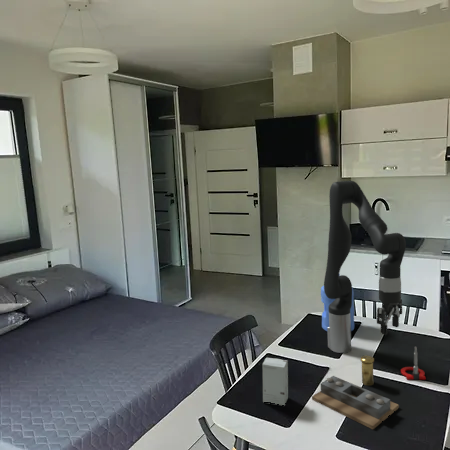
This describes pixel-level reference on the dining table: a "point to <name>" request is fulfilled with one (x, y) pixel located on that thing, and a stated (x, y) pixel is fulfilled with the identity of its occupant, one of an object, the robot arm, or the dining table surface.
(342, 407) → the board
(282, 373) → the skincare box
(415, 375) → the tow hook
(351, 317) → the water jug
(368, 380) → the pin
